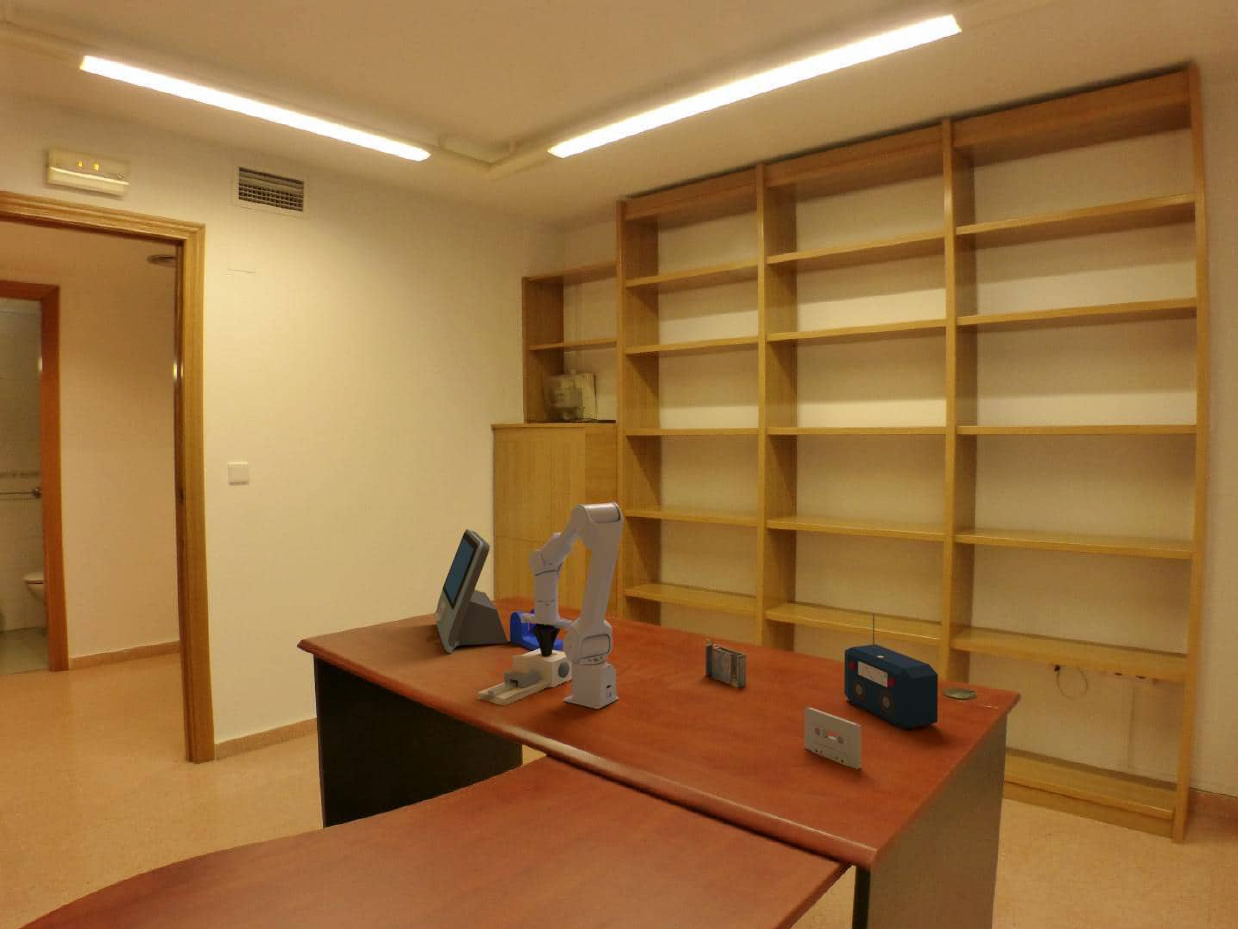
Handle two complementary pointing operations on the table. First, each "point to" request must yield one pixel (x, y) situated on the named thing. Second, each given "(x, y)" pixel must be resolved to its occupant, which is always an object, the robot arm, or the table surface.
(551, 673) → the cabinet
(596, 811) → the table surface
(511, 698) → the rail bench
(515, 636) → the bracket
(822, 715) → the cassette
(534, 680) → the carriage
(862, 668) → the radio
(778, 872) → the table surface
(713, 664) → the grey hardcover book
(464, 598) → the touchscreen device
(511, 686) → the rail
